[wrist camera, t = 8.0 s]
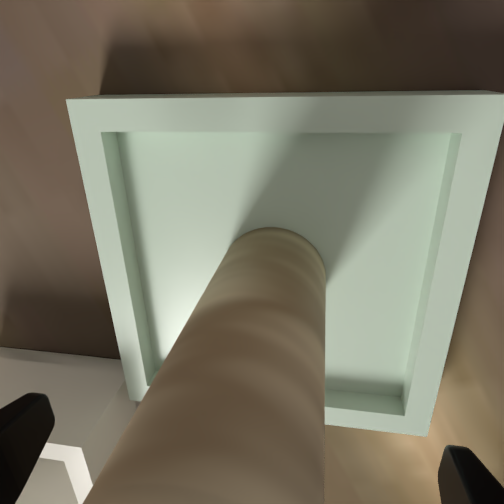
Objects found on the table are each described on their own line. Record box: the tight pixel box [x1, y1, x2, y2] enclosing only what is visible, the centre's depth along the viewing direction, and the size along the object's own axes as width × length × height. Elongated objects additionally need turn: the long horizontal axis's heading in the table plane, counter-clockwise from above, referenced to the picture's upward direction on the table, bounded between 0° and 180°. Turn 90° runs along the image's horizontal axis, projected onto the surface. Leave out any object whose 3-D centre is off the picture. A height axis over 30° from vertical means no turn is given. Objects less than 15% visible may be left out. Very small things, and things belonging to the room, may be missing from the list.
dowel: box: [83, 227, 326, 504], centre depth 11 cm, size 4×4×10 cm
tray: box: [66, 90, 504, 437], centre depth 15 cm, size 13×13×2 cm
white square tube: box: [0, 347, 141, 504], centre depth 20 cm, size 8×8×5 cm
